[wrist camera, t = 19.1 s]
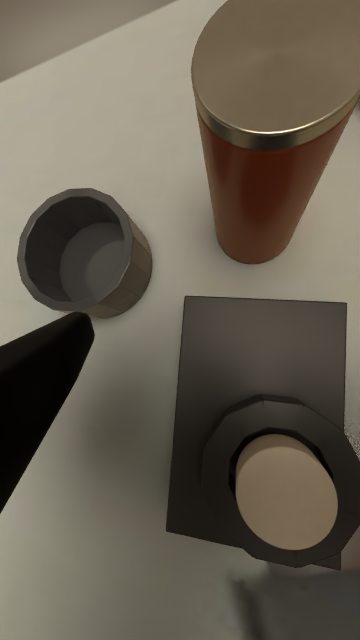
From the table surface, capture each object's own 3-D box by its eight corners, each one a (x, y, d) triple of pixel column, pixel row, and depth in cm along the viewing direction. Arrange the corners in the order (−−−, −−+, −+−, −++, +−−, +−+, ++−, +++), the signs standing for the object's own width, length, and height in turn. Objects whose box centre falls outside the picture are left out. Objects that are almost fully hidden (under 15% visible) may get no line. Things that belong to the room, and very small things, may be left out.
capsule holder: (147, 321, 17) (125, 314, 14) (51, 315, 19) (9, 307, 15) (157, 217, 18) (138, 185, 14) (63, 218, 19) (26, 190, 16)
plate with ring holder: (332, 543, 14) (364, 605, 10) (173, 510, 16) (156, 555, 12) (338, 308, 15) (369, 296, 12) (190, 301, 17) (178, 288, 13)
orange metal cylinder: (274, 274, 16) (336, 154, 6) (205, 249, 17) (163, 111, 7) (304, 206, 16) (411, -19, 6) (233, 185, 17) (231, -38, 7)
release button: (322, 530, 11) (337, 561, 10) (233, 512, 12) (232, 539, 10) (324, 440, 12) (340, 455, 10) (238, 428, 12) (238, 440, 11)
